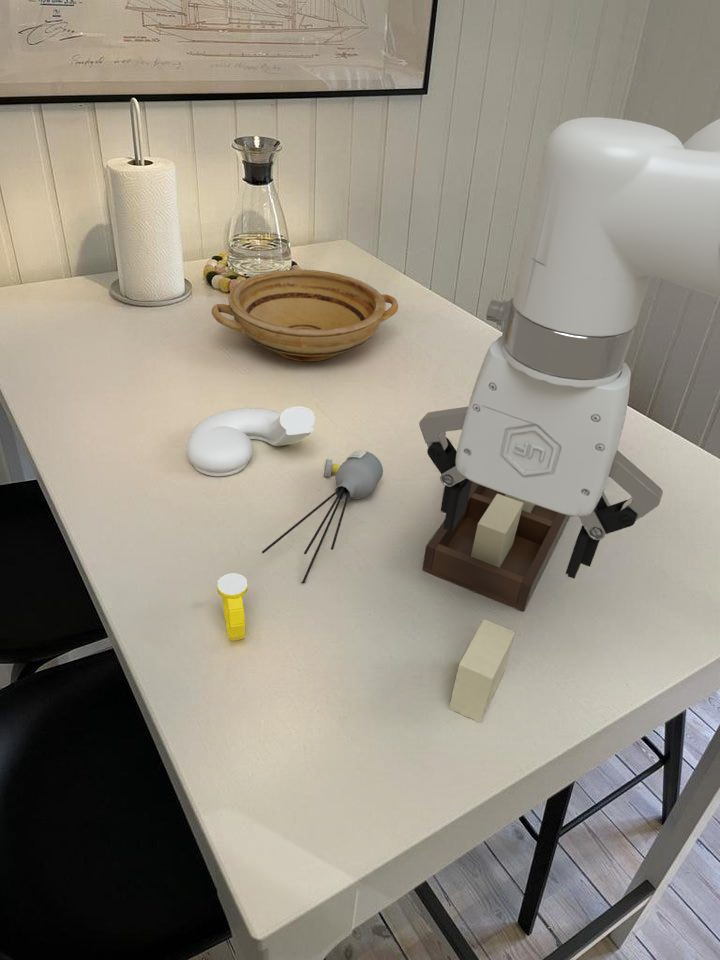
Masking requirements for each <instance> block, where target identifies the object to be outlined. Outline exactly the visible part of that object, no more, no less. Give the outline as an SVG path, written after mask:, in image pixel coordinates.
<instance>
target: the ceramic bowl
mask: <svg viewBox="0 0 720 960" xmlns="http://www.w3.org/2000/svg"><path fill="white" fill-rule="evenodd" d="M386 303H387V304H390V305H391V306H390V307H389V308H388V309H386V308H387V304H386ZM398 310H399V302H398V300H397V299H396V298H395V297H394V296H392V295H389V294H384V293H383V294H381V293H380V291H378V290H377V289H376V288H375V287H373V286H372V285H370V284H368V283H366V282H364V281H362V280H360V279H358V278H354V277H352V276H348V275H344V274H340V273H336V272H331V271H325V270H317V269H316V270H315V269H284V270H283V269H282V270H274V271H267V272H263V273H259V274H256V275H253V276H249V277H247V278H245V279H243V280H241V281H240V282H238V283H237V284H236V285H234V286H233V287H232V288H231V290H230V292H229V295H228V304H225V303H216V304H214V305H213V307H212V308H211V315H212V317H213V318H214V319H215V320H216V322H217V323H219V324H220V325H223V326H225V327H227V328H229V329H231V330H235V331H237V332H239V333H242V334H244V335H245V336H247V337H248V338H249V340H251V341H253V342H254V343H255V344H257V345H259V346H261V347H263V348H265V349H267V350H270V351H273V352H275V353H277V354H278V355H280V356H282V357H283V358H287V359H290V360H293V361H299V362H300V361H301V362H317V361H318V362H319V361H323V360H324V361H325V360H328V359H331V358H333V357H335V356H336V355H338V354H343V353H346V352H349V351H352V350H354V349H356V348H358V347H360V346H362V345H363V344H364V343H366V341H368V340H369V339H370V338H371V337H372V336H373V335H374V333H375V332H376V330H377V329H378V328H379V325H380V324H381V323H383V322H385V321H386V320H388V319H390V318H391V317H393V316H394V315H395V314H396V313H397V312H398ZM222 313H223V314H227V315H230V316H233V318H234V320H232V319H230V318H228V317H226V316H225V315H223V314H222Z"/></svg>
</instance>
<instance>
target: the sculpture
mask: <svg viewBox="0 0 720 960" xmlns="http://www.w3.org/2000/svg"><path fill="white" fill-rule="evenodd" d="M315 422H316V416H315V413H314V412H313V411H312V409H310V408H308V407H307V406H299V405H298V406H291V407H288V408H286V409H284V410H283V411H282V412H281V413H280V412H278V411H276V410H272V409H267V408H258V407H257V408H256V407H244V408H235V409H234V408H233V409H229V410H225V411H221V412H218V413H214V414H212V415H210V416H208V417H206V418H204V419H202V421H200V422H199V423H198V424H197V425H196V426H195V427H194V428H193V430H192V431H191V433H190V435H189V437H188V440H187V444H186V456H187V458H188V460H189V462H191V464H192V466H193V468H194V469H195V470H196V471H197V472H199V473H201V474H203V475H206V476H210V477H228V476H232V475H236V474H237V473H240V472H242V471H243V470H244V469H245V468H246V467H247V466H248V464H249V462H250V459H251V457H252V456H253V452H254V448H253V443H252V440H256V441H261V442H265V443H266V444H269V445H271V446H274V447H281V446H288V445H289V446H290V445H296V444H299V443H300V442H302V441H303V440H305V439H306V438H307V437H309V435H310V434H311V433H313V432H314V428H313V426H314V424H315Z"/></svg>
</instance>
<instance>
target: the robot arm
mask: <svg viewBox="0 0 720 960" xmlns="http://www.w3.org/2000/svg"><path fill="white" fill-rule="evenodd" d="M545 143H546V144H545V145H544V148H543V153H542V157H541V161H540V165H539V169H538V175H537V181H536V185H535V189H534V193H533V200H532V204H531V208H530V214H529V218H528V224H527V228H526V234H525V237H524V243H523V248H522V253H521V258H520V262H519V266H518V267H519V268H518V272H517V276H516V281H515V286H514V290H513V295H512V297H511V298H510V300H503V301H499V300H496V299H491V300H490V302H489V304H488V306H487V310H486V315H485V317H486V320H487V321H490V322H493V323H495V324H496V325H497V326H500V327H501V329H500V330H501V331H500V332H502V334H501V336H499V337H497V339H495V340H494V341H492V343H490V345H489V347H488V349H487V350H486V351H487V352H486V354H485V355H484V358H483V361H482V364H481V366H480V369H479V372H478V374H477V377H476V381H475V383H474V386H473V389H472V392H471V396H470V399H469V403H468V406H461V407H455V408H449V409H442V410H433V411H429V412H427V413H426V414H425V415H424V416H423V417H422V418H421V419H420V421H419V424H418V425H419V428H420V432H421V434H422V437H423V440H424V443H425V444H426V446H427V449H426V452H427V456H428V457H429V458H430V460H431V462H432V463H433V464H434V466H435V467H436V469H437V471H438V472H439V473H440V476H439V480H440V482H441V484H442V485H444V488H443V492H442V499H441V504H440V512H441V513H444V514H445V516H444V520H445V521H444V520H443V521H444V526H443V529H445V530H448V531H451V530H452V531H453V530H454V528H455V527H456V525H457V524H458V522H459V521H460V519H461V518H462V516H463V515H464V513H465V511H466V508H467V503H468V498H469V493H470V488H471V484H472V482H474V483H477V484H479V485H482V486H484V487H487V488H490V489H493V490H495V491H498V492H501V493H504V494H506V495H509V496H512V497H515V498H518V499H520V500H523V501H526V502H529V503H532V504H535V505H538V506H540V507H543V508H546V509H549V510H552V511H555V512H558V513H561V514H565V515H569V516H570V517H576V518H577V517H578V519H579V520H580V523H581V525H582V526H581V528H580V530H579V532H578V535H577V537H576V540H575V544H574V546H573V550H572V553H571V556H570V559H569V562H568V565H567V567H566V571H565V575H567V577H568V578H571V579H573V580H574V579H575V578H576V576H577V574H578V571H579V569H580V567H581V565H583V566H586V567H591V565H592V562H593V561H594V558H595V555H596V552H597V549H598V547H599V543H600V541H602V540H603V539H604V538H605V537H606V535H608V534H611V533H614V532H618V531H620V530H624V529H627V528H631V527H633V526H634V525H635V523H636V522H637V521H638V520H640V519H641V518H643V517H645V516H647V514H649V513H650V512H652V511H653V510H654V509H656V508H657V507H659V505H660V503H661V501H662V497H663V494H664V492H663V489H662V487H660V486H659V485H658V484H657V483H656V482H655V481H653V480H652V479H651V478H650V477H649V476H648V475H647V474H645V472H643V471H642V470H641V469H640V468H638V467H637V466H636V464H634V463H633V462H631V460H629V459H628V458H627V457H626V456H625V455H624V454H622V453H621V452H620V451H619V446H620V442H621V437H622V434H623V430H624V425H625V421H626V417H627V416H626V415H627V409H628V404H629V398H630V397H629V396H630V391H631V390H630V389H631V379H632V377H631V375H632V372H631V371H632V370H631V368H630V366H629V364H628V363H627V362H625V360H626V357H627V354H628V351H629V348H630V344H631V342H632V338H633V335H634V332H635V329H636V325H637V323H638V319H639V316H640V313H641V309H642V308H643V304H644V300H645V298H646V294H647V291H648V288H649V284H650V282H651V278H655V279H658V280H662V281H665V282H668V283H671V284H674V285H677V286H680V287H682V288H686V289H689V290H691V291H695V292H698V293H701V294H704V295H708V296H711V297H714V298H718V299H720V118H718V119H716V120H714V121H712V122H710V123H708V124H707V125H706V126H704V127H703V128H701V129H700V130H698V131H697V132H695V133H694V134H693V135H692V136H691V137H689V139H687V140H686V141H685V142H684V143H682V142H681V140H680V139H679V138H678V137H677V136H676V135H675V134H673V133H671V132H669V131H668V130H666V129H665V128H661V127H658V126H655V125H652V124H648V123H644V122H639V121H634V120H630V119H624V118H623V119H622V118H614V117H602V116H600V117H598V116H591V117H588V116H587V117H585V116H584V117H578V118H573V119H568V120H567V121H566V120H565V121H564V122H562V123H560V124H558V126H557V127H555V129H554V130H553V131H551V133H550V135H549V136H548V138H547V141H546V142H545ZM454 431H460V435H459V440H458V444H457V449H456V448H455V447H454V445H453V443H452V442H451V441H450V439H449V438H448V437H447V436H446V435H447V433H446V432H454ZM609 478H610V479H611V480H613V482H615V483H616V484H617V485H618V486H620V487H621V489H623V490H624V491H625V492H627V493H628V494H629V495H630V498H629V499H625V500H622V501H619V502H617V503H614V504H611V503H610V502H609V499H608V498H607V496H606V494H605V492H604V491H605V489H606V486H607V483H608V481H609Z"/></svg>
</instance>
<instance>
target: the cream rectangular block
mask: <svg viewBox="0 0 720 960" xmlns="http://www.w3.org/2000/svg"><path fill="white" fill-rule="evenodd" d="M515 635H516V632H515V631H514V630H511V629H509V628H507V627H504V626H502V625H500V624H497V623H495V622H492V621H490V620H488V619H485V618H484V619H482V621H481V622H480V624H479V627H478V628H477V630H476V632H475V634H474V636H472V637H473V638H472V639H471V641H470V643H469V646H468V647H467V648H466V650H465V652H464V654H463V656H462V658H461V660H460V661H459V662H458V663H459V664H458V668H457V671H456V675H455V680H454V684H453V689H452V694H451V697H450V701H449V706H448V710H452V711H453V712H455V713H457V714H460V715H462V716H464V717H467V718H468V719H471V720H472V721H475V722H478V724H482V721H483V719H484V717H485V714H487V713H486V712H487V710H488V708H489V706H490V704H491V703H492V700H493V698H494V696H495V693H496V691H497V689H498V688H499V685H500V683H501V681H502V679H503V677H504V673H505V670H506V666H507V663H508V660H509V657H510V656H509V655H510V652H511V650H512V645H513V642H514V639H515Z"/></svg>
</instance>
